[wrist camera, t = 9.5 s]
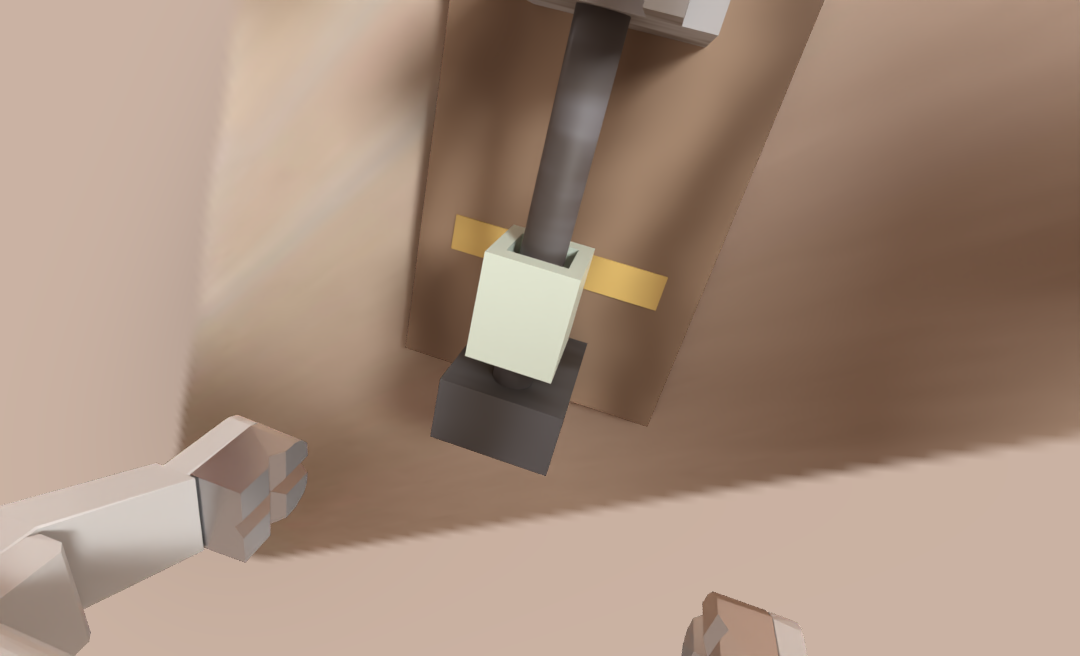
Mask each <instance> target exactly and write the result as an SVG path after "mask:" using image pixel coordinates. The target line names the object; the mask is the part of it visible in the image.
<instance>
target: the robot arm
mask: <svg viewBox="0 0 1080 656" xmlns="http://www.w3.org/2000/svg"><path fill="white" fill-rule="evenodd" d="M307 456H308V451H307V443H306V442H305V441H303V440H301V439H298V438H296V437H293V436H291V435H288V434H286V433H283V432H281V431H278V430H276V429H273V428H271V427H268V426H266V425H263V424H261V423H258V422H255V421H253V420H250V419H247V418H245V417H242V416H240V415H234V416H231V417H228V418H226V419H225V420H224V421H222V422H221V423H220V424H218V425H217V426H215V427H214V428H213V429H211V430H210V431H209V432H207V433H206V434H205V435H203V436H202V437H201V438H199V439H198V440H197V441H195V442H194V443H192V444H191V445H190V446H188V447H187V448H186V449H184V450H183V451H182V452H180V453H179V454H178V455H176V456H175V457H174V458H172V459H171V460H169V461H168V462H167V463H165V464H164V465H161V464H158V463H153V464H150V465H146V466H143V467H139V468H135V469H132V470H129V471H125V472H121V473H117V474H114V475H110V476H106V477H103V478H99V479H96V480H92V481H88V482H85V483H81V484H77V485H74V486H70V487H67V488H63V489H59V490H56V491H52V492H49V493H45V494H41V495H38V496H34V497H31V498H27V499H23V500H20V501H16V502H13V503H9V504H5V505H2V506H0V656H74V655H76V654H77V653H78V652H79V651H80V650H81V649H82V648H83V647H84V646H85V645H86V644H87V643H88V642H89V639H90V633H91V632H90V629H89V625H88V622H87V620H86V616H85V613H84V610H83V609H85V608H87V607H89V606H91V605H93V604H95V603H98V602H100V601H101V600H104V599H106V598H108V597H110V596H112V595H114V594H116V593H118V592H120V591H122V590H124V589H126V588H128V587H130V586H132V585H134V584H136V583H138V582H140V581H142V580H144V579H146V578H148V577H151V576H153V575H155V574H157V573H159V572H161V571H163V570H165V569H167V568H169V567H171V566H173V565H175V564H177V563H179V562H181V561H183V560H185V559H187V558H189V557H191V556H193V555H195V554H197V553H199V552H201V551H203V550H204V548H207V549H210V550H212V551H215V552H218V553H220V554H223V555H226V556H229V557H231V558H234V559H237V560H239V561H242V562H246V561H247V560H248V559H249V558H250V557H251V556H252V555H253V554H254V553H255V552H256V550H257V549H258V548H259V547H260V546H261V545H262V544H263V543H264V542H265V541H266V539H267V538H268V537H269V536H270V534H271V523H274V522H276V521H279V520H281V519H284V518H286V517H287V516H288V515H289V514H290V513H291V512H292V510H293V509H294V508H295V507H296V506H297V504H298V502H299V500H300V499H301V497H302V495H303V493H304V491H305V487H306V483H307V471H306V469H305V467H304V466H303V464H302V461H303V460H304V459H305V458H306V457H307ZM702 605H703V615H701V616H698V617H695V618H693V620H692V622H691V624H690V626H689V627H688V629H687V632H686V636H685V639H684V643H683V649H682V656H807V651H806V647H805V642H804V638H803V633H802V629H801V627H800V626H799V624H798V623H797V622H795V621H792V620H790V619H787V618H784V617H781V616H779V615H776V614H773V613H770V612H767V611H766V610H763V609H760V608H758V607H755V606H752V605H749V604H746V603H743V602H741V601H738V600H735V599H732V598H730V597H727V596H724V595H721V594H718V593H716V592H711V593H710V594H708V595H707V597H706V598H705V600H704V601H703V604H702Z"/></svg>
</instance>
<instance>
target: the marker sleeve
mask: <svg viewBox="0 0 1080 656" xmlns="http://www.w3.org/2000/svg"><path fill="white" fill-rule="evenodd" d="M524 232H525V228H524V227H521V226H518V225H513V226H512V227H511V228H510V229H508V230H507V231H506V232H505V233H504V234H503V235H502V236H501V237H500V238H499V239H498V240H497V241H495V242H494V243H493V244H492V245H491V246H490V247H489V248H488V249H487V250H486V251H485V253H484V259H483V264H482V269H481V274H480V280H479V285H478V290H477V295H476V301H475V306H474V311H473V316H472V321H471V327H470V332H469V337H468V342H467V348H466V353H465V356H467V357H470V358H473V359H476V360H479V361H482V362H485V363H488V364H491V365H495V366H498V367H501V368H504V369H507V370H510V371H513V372H516V373H519V374H522V375H525V376H528V377H531V378H534V379H538V380H541V381H544V382H547V383H550V384H551V382H552V380H553V377H554V375H555V372H556V370H557V367H558V364H559V362H560V359H561V357H562V354H563V352H564V349H565V347H566V344H567V341H568V339H569V335H570V332H571V329H572V325H573V322H574V318H575V315H576V312H577V308H578V305H579V301H580V298H581V295H582V291H583V288H584V285H585V281H586V278H587V274H588V271H589V268H590V264H591V261H592V257H593V254H594V251H595V248H591V247H588V246H585V245H581V244H578V243H575V242H570V245H569V249H568V253H567V256H566V260H565V264H564V267H561V266H558V265H554V264H551V263H548V262H545V261H541V260H538V259H535V258H531V257H528V256H525V255H521V254H520V250H521V246H522V241H523V237H524Z"/></svg>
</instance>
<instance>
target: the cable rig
mask: <svg viewBox="0 0 1080 656" xmlns="http://www.w3.org/2000/svg"><path fill="white" fill-rule="evenodd" d="M823 2H824V0H450V1H449V9H448V16H447V24H446V32H445V40H444V48H443V56H442V64H441V72H440V79H439V87H438V95H437V103H436V111H435V119H434V127H433V135H432V142H431V150H430V158H429V166H428V174H427V182H426V190H425V197H424V205H423V213H422V221H421V229H420V237H419V245H418V253H417V260H416V268H415V276H414V284H413V292H412V300H411V308H410V316H409V323H408V331H407V339H406V348H409V349H412V350H415V351H418V352H421V353H424V354H427V355H430V356H433V357H436V358H439V359H442V360H445V361H448V362H451V363H452V364H451V365H450V367H449V368H448V369H447V371H446V372H445V373H444V375H443V376H442V377H441V378H440V383H439V389H438V395H437V401H436V406H435V412H434V418H433V424H432V430H431V437H433V438H436V439H439V440H442V441H445V442H448V443H451V444H454V445H457V446H460V447H463V448H466V449H468V450H471V451H474V452H477V453H480V454H483V455H486V456H489V457H492V458H495V459H498V460H500V461H503V462H506V463H509V464H512V465H515V466H518V467H521V468H524V469H527V470H530V471H532V472H535V473H538V474H541V475H544V476H546V474H547V471H548V468H549V465H550V461H551V458H552V455H553V452H554V449H555V446H556V442H557V439H558V436H559V433H560V430H561V427H562V424H563V420H564V417H565V414H566V411H567V408H568V404H569V401H570V402H573V403H577V404H580V405H583V406H586V407H589V408H592V409H595V410H598V411H601V412H604V413H607V414H610V415H613V416H616V417H619V418H622V419H625V420H628V421H631V422H634V423H638V424H641V425H644V426H648V424H649V421H650V419H651V416H652V414H653V412H654V409H655V407H656V404H657V402H658V399H659V397H660V395H661V392H662V390H663V387H664V385H665V383H666V380H667V378H668V375H669V373H670V371H671V368H672V366H673V363H674V361H675V359H676V356H677V354H678V351H679V349H680V347H681V344H682V342H683V339H684V337H685V335H686V332H687V330H688V327H689V325H690V322H691V320H692V318H693V315H694V313H695V310H696V308H697V306H698V303H699V301H700V298H701V296H702V294H703V291H704V289H705V286H706V284H707V282H708V279H709V277H710V274H711V272H712V270H713V267H714V265H715V262H716V260H717V257H718V255H719V253H720V250H721V248H722V245H723V243H724V241H725V238H726V236H727V233H728V231H729V229H730V226H731V224H732V221H733V219H734V217H735V214H736V212H737V209H738V207H739V205H740V202H741V200H742V197H743V195H744V193H745V190H746V188H747V185H748V183H749V180H750V178H751V176H752V173H753V171H754V168H755V166H756V164H757V161H758V159H759V156H760V154H761V152H762V149H763V147H764V144H765V142H766V140H767V137H768V135H769V132H770V130H771V128H772V125H773V123H774V120H775V118H776V115H777V113H778V111H779V108H780V106H781V103H782V101H783V99H784V96H785V94H786V91H787V89H788V87H789V84H790V82H791V79H792V77H793V75H794V72H795V70H796V67H797V65H798V63H799V60H800V58H801V55H802V53H803V50H804V48H805V46H806V43H807V41H808V38H809V36H810V34H811V31H812V29H813V26H814V24H815V22H816V19H817V17H818V14H819V12H820V10H821V7H822V5H823ZM513 225H518V226H521V227H524V228H525V232H524V237H523V241H522V246H521V250H520V254H521V255H525V256H528V257H531V258H535V259H538V260H541V261H545V262H548V263H551V264H554V265H558V266H561V267H564V264H565V260H566V256H567V253H568V249H569V245H570V242H575V243H578V244H581V245H585V246H588V247H591V248H595V251H594V254H593V257H592V261H591V264H590V268H589V271H588V274H587V278H586V281H585V285H584V288H583V291H582V295H581V298H580V301H579V305H578V308H577V312H576V315H575V318H574V322H573V325H572V329H571V332H570V335H569V339H568V341H567V344H566V347H565V349H564V352H563V354H562V357H561V359H560V362H559V364H558V367H557V370H556V372H555V375H554V377H553V380H552V382H551V384H550V383H547V382H544V381H541V380H538V379H534V378H531V377H528V376H525V375H522V374H519V373H516V372H513V371H510V370H507V369H504V368H501V367H498V366H495V365H491V364H488V363H485V362H482V361H479V360H476V359H473V358H470V357H467V356H465V353H466V348H467V342H468V337H469V332H470V327H471V321H472V316H473V311H474V306H475V301H476V295H477V290H478V285H479V280H480V274H481V269H482V264H483V259H484V253H485V251H486V250H487V249H488V248H489V247H490V246H491V245H492V244H493V243H494V242H495V241H497V240H498V239H499V238H500V237H501V236H502V235H503V234H504V233H505V232H506V231H507V230H508V229H510V228H511V227H512V226H513Z"/></svg>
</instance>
